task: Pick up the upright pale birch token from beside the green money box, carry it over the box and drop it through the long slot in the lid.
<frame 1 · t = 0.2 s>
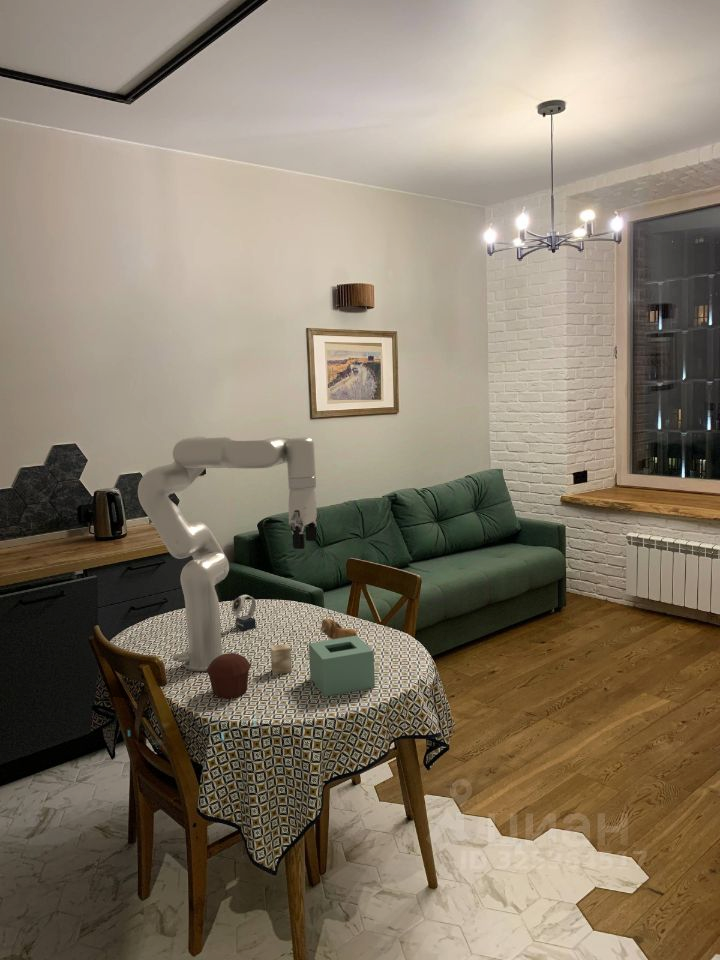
hand: (305, 544, 200), 36 cm above the table, tool pointing down, fingers open, 9 cm apart
muffin: (230, 692, 192), on the table
money box: (342, 682, 195), on the table
lion figurine: (342, 649, 220), on the table
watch: (245, 628, 243), on the table
token: (281, 671, 205), on the table
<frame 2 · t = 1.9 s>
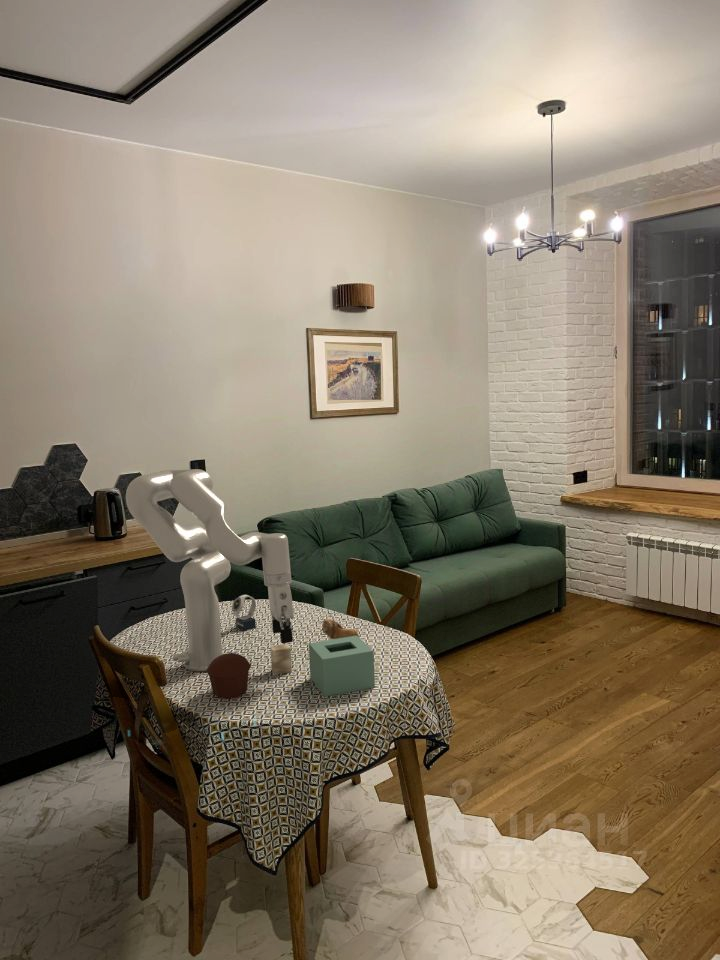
hand: (282, 637, 203), 10 cm above the table, tool pointing down, fingers open, 9 cm apart
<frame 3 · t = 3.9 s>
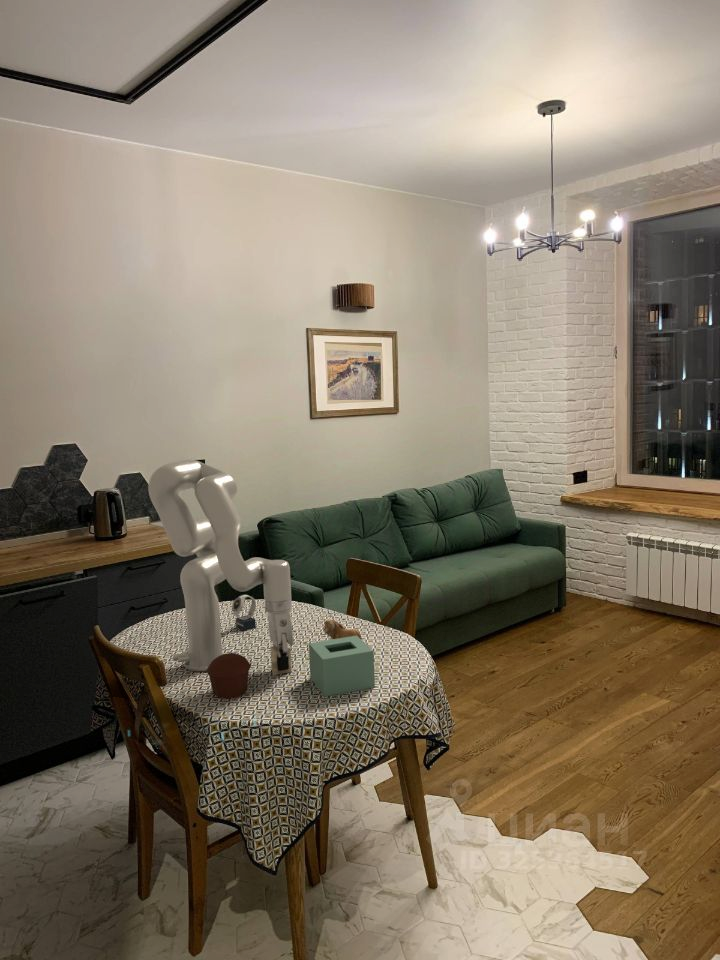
hand: (281, 666, 205), 1 cm above the table, tool pointing down, fingers closed on token, 3 cm apart
token: (281, 671, 205), on the table, touching gripper
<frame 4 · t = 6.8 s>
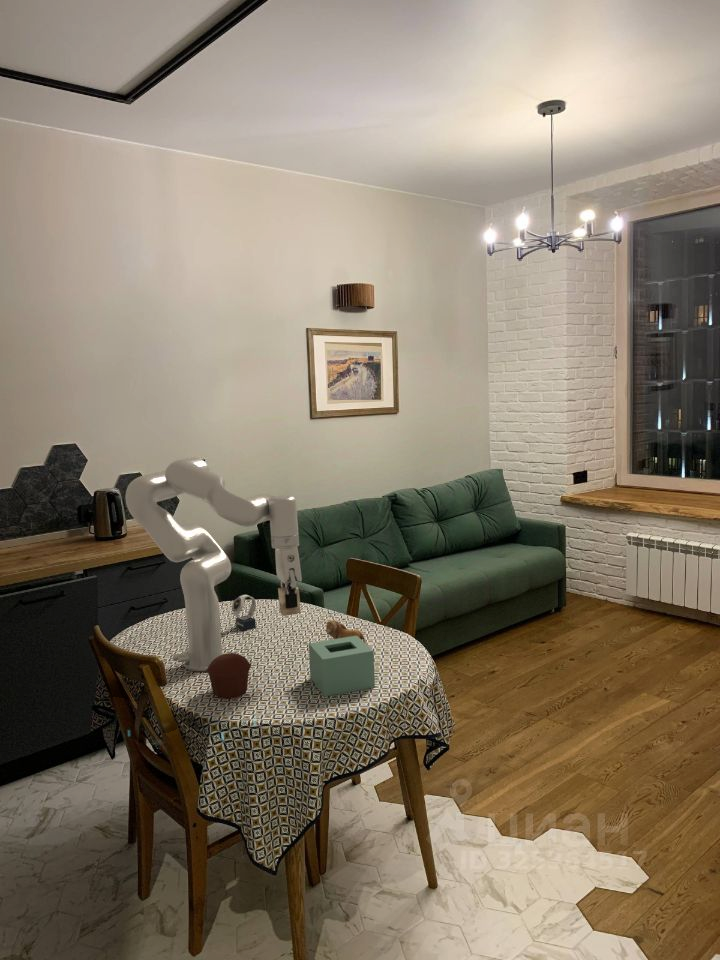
hand: (289, 605, 200), 20 cm above the table, tool pointing down, fingers closed on token, 3 cm apart
token: (290, 612, 201), point 17 cm above the table, touching gripper
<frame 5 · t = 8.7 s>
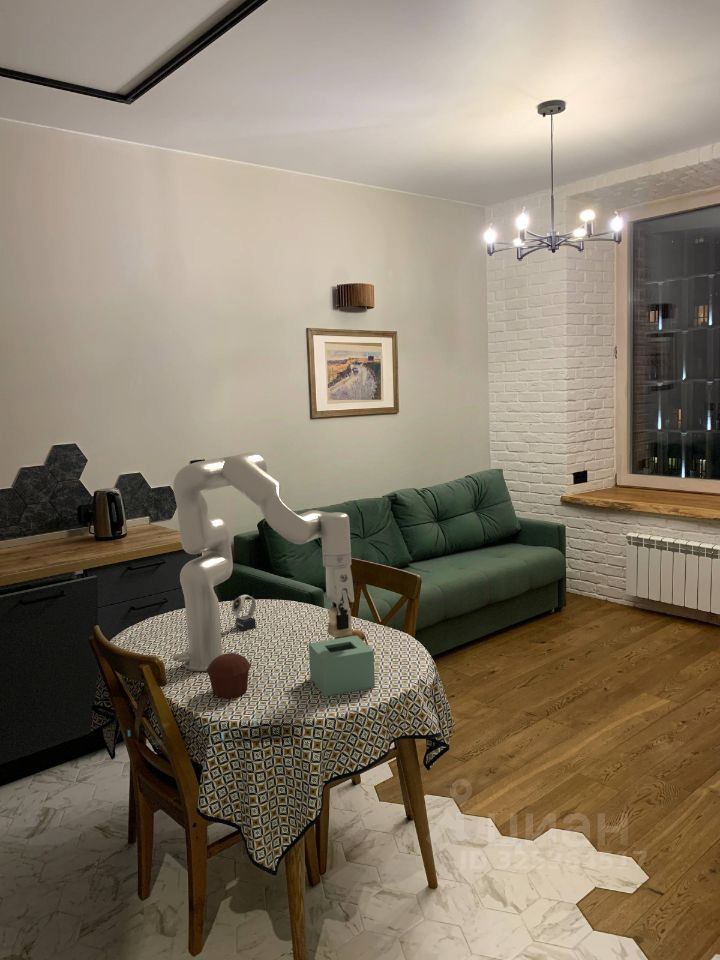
hand: (340, 626, 193), 16 cm above the table, tool pointing down, fingers closed on token, 3 cm apart
token: (341, 633, 193), point 14 cm above the table, touching gripper
when the fingers open (13 cm above the table, at t = 9.9 s): token drops 10 cm, resting on money box.
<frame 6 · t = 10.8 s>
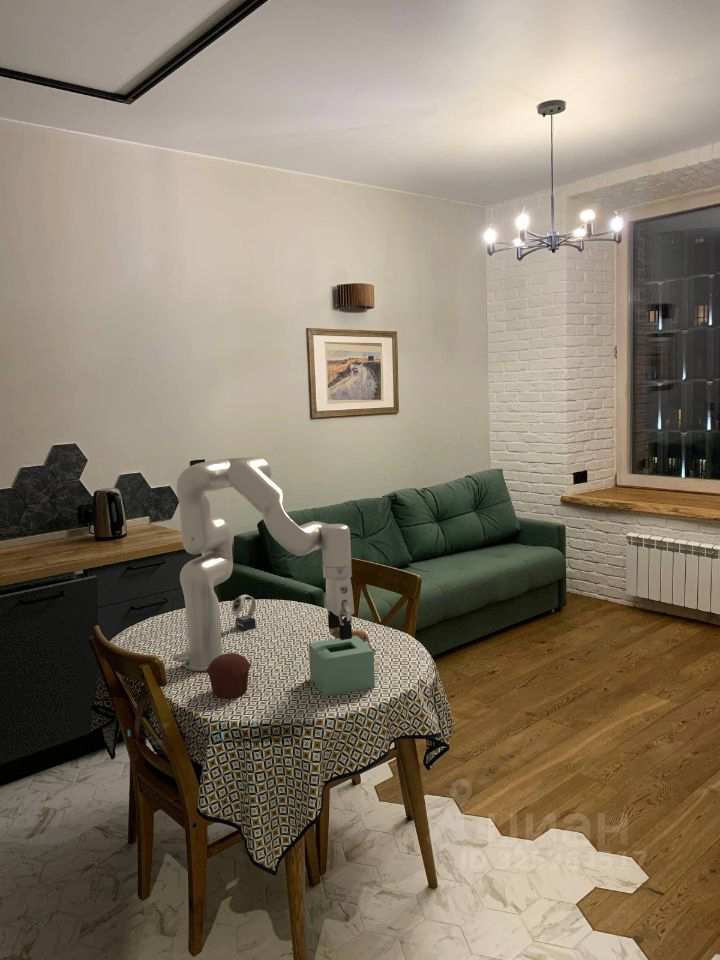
hand: (339, 633, 193), 14 cm above the table, tool pointing down, fingers open, 9 cm apart
token: (341, 680, 195), resting on money box
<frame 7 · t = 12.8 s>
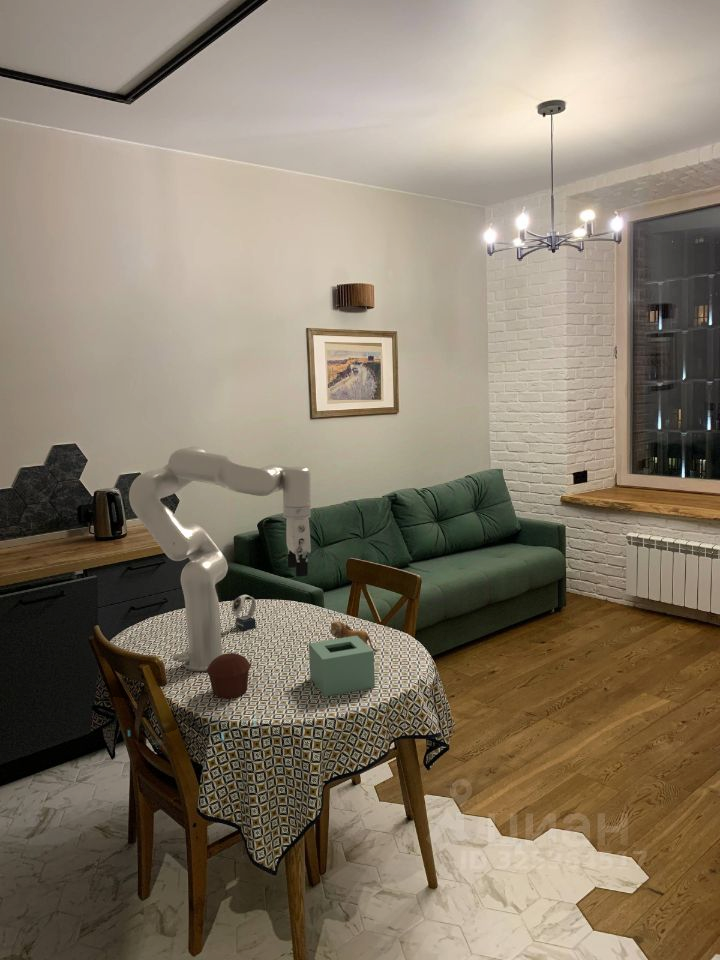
hand: (297, 571, 203), 28 cm above the table, tool pointing down, fingers open, 9 cm apart
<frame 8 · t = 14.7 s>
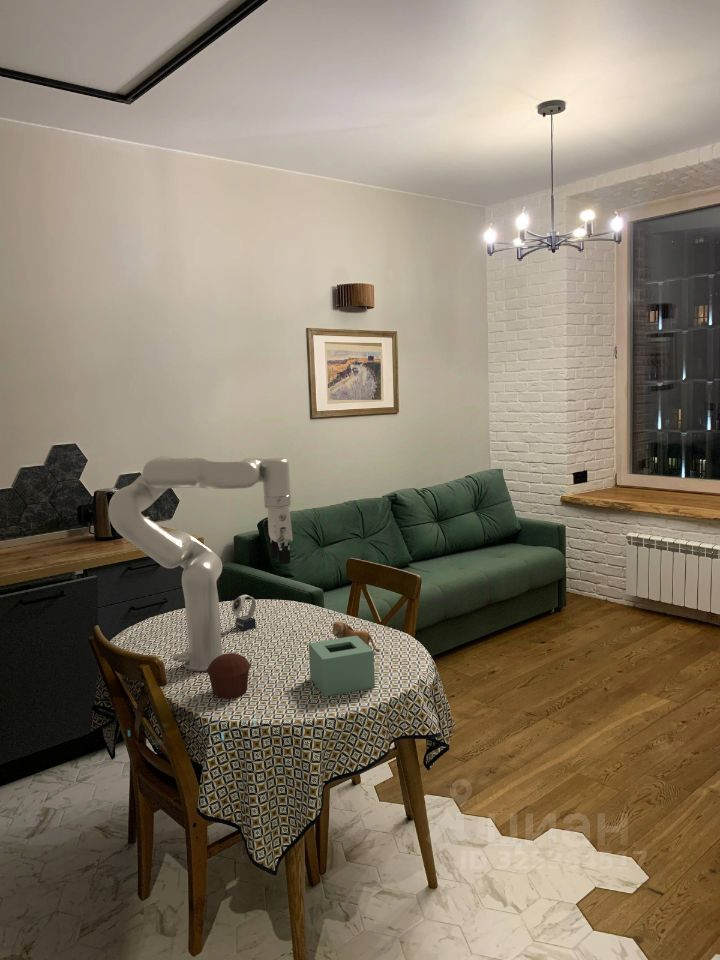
hand: (280, 560, 208), 30 cm above the table, tool pointing down, fingers open, 9 cm apart
at the end: token inside the target area on the money box (0.1 cm from its centre), point 0.5 cm above the money box's base; the gripper is holding nothing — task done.
